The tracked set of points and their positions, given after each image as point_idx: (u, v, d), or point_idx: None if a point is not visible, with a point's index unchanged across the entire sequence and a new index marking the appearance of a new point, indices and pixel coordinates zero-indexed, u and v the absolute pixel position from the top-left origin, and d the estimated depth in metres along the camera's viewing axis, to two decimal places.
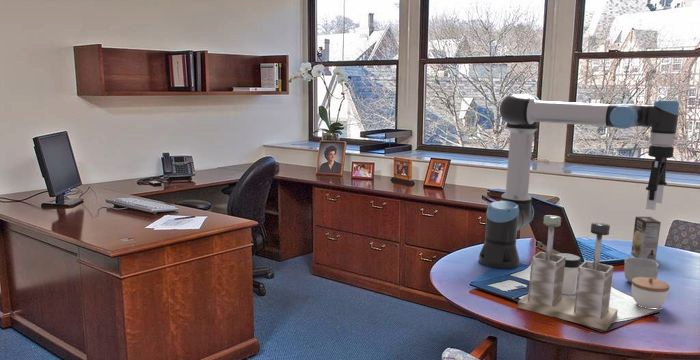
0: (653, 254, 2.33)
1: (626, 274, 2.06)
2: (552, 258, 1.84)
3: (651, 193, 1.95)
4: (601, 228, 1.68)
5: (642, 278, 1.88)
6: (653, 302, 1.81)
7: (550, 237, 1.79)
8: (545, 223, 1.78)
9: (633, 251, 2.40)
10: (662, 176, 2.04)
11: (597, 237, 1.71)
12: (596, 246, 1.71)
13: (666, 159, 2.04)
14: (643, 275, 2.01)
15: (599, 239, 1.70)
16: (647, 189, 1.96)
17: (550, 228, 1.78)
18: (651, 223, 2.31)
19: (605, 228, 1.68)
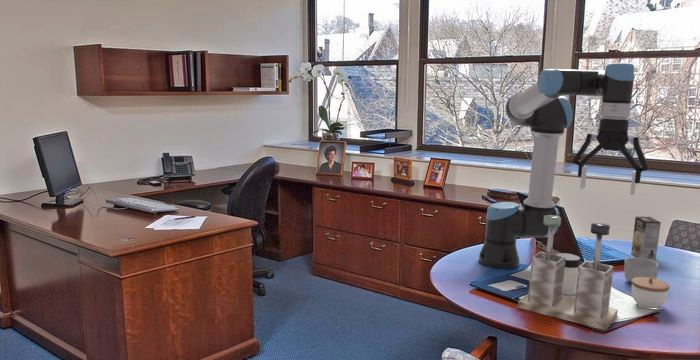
0: (653, 254, 2.33)
1: (626, 274, 2.06)
2: (552, 258, 1.84)
3: None
4: (601, 228, 1.68)
5: (642, 278, 1.88)
6: (653, 302, 1.81)
7: (550, 237, 1.79)
8: (545, 223, 1.78)
9: (633, 251, 2.40)
10: None
11: (597, 237, 1.71)
12: (596, 246, 1.71)
13: (634, 138, 1.63)
14: (643, 275, 2.01)
15: (599, 239, 1.70)
16: None
17: (550, 228, 1.78)
18: (651, 223, 2.31)
19: (605, 228, 1.68)
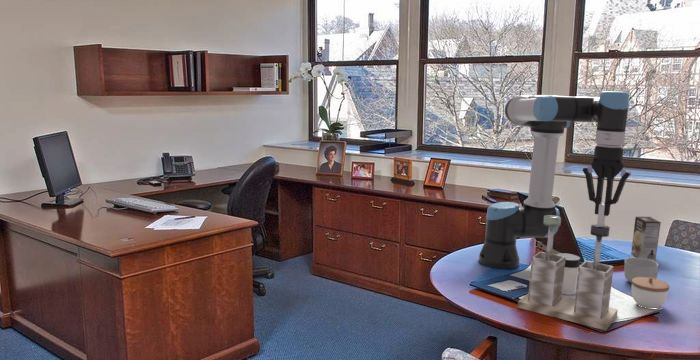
0: (653, 254, 2.33)
1: (626, 274, 2.06)
2: (552, 258, 1.84)
3: None
4: (601, 230, 1.68)
5: (642, 278, 1.88)
6: (653, 302, 1.81)
7: (550, 237, 1.79)
8: (545, 223, 1.78)
9: (633, 251, 2.40)
10: None
11: (597, 239, 1.71)
12: (596, 248, 1.71)
13: (626, 173, 1.63)
14: (643, 275, 2.01)
15: (599, 241, 1.70)
16: None
17: (550, 228, 1.78)
18: (651, 223, 2.31)
19: (605, 230, 1.68)
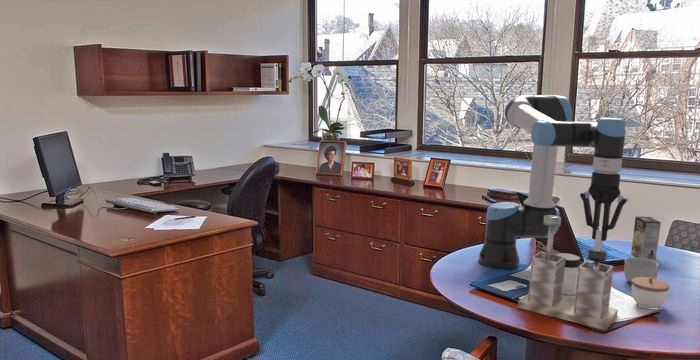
0: (653, 254, 2.33)
1: (626, 274, 2.06)
2: (552, 258, 1.84)
3: None
4: (598, 255, 1.69)
5: (642, 278, 1.88)
6: (653, 302, 1.81)
7: (550, 237, 1.79)
8: (545, 223, 1.78)
9: (633, 251, 2.40)
10: None
11: (594, 263, 1.72)
12: None
13: (623, 200, 1.65)
14: (643, 275, 2.01)
15: (596, 265, 1.72)
16: None
17: (550, 228, 1.78)
18: (651, 223, 2.31)
19: (602, 255, 1.69)
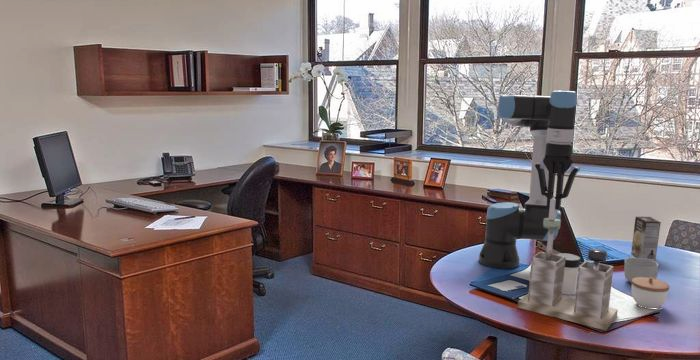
0: (653, 254, 2.33)
1: (626, 274, 2.06)
2: (552, 258, 1.84)
3: None
4: (598, 255, 1.69)
5: (642, 278, 1.88)
6: (653, 302, 1.81)
7: (550, 240, 1.79)
8: (545, 226, 1.78)
9: (633, 251, 2.40)
10: None
11: (594, 263, 1.72)
12: None
13: (574, 169, 1.71)
14: (643, 275, 2.01)
15: (596, 265, 1.72)
16: None
17: (550, 231, 1.79)
18: (651, 223, 2.31)
19: (602, 255, 1.69)
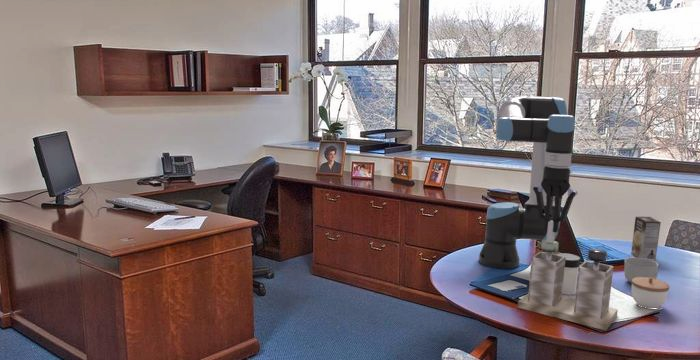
0: (653, 254, 2.33)
1: (626, 274, 2.06)
2: (552, 258, 1.84)
3: None
4: (598, 255, 1.69)
5: (642, 278, 1.88)
6: (653, 302, 1.81)
7: None
8: (543, 248, 1.79)
9: (633, 251, 2.40)
10: None
11: (594, 263, 1.72)
12: None
13: (572, 193, 1.73)
14: (643, 275, 2.01)
15: (596, 265, 1.72)
16: None
17: (548, 253, 1.80)
18: (651, 223, 2.31)
19: (602, 255, 1.69)
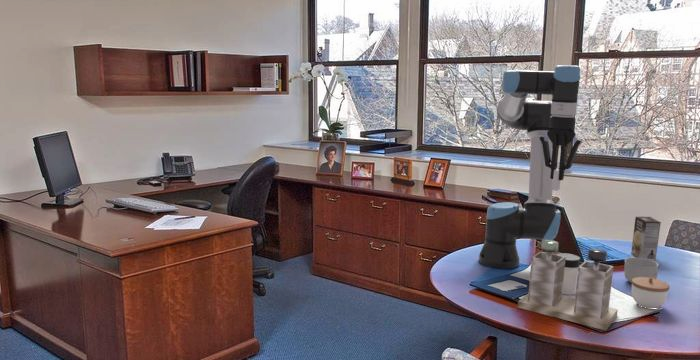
0: (653, 254, 2.33)
1: (626, 274, 2.06)
2: (552, 258, 1.84)
3: None
4: (598, 255, 1.69)
5: (642, 278, 1.88)
6: (653, 302, 1.81)
7: None
8: (543, 248, 1.79)
9: (633, 251, 2.40)
10: None
11: (594, 263, 1.72)
12: None
13: (577, 141, 1.78)
14: (643, 275, 2.01)
15: (596, 265, 1.72)
16: None
17: (548, 253, 1.80)
18: (651, 223, 2.31)
19: (602, 255, 1.69)
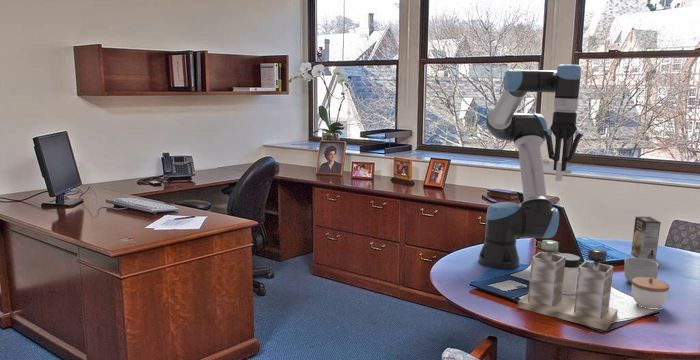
0: (653, 254, 2.33)
1: (626, 274, 2.06)
2: (552, 258, 1.84)
3: None
4: (598, 255, 1.69)
5: (642, 278, 1.88)
6: (653, 302, 1.81)
7: None
8: (543, 248, 1.79)
9: (633, 251, 2.40)
10: None
11: (594, 263, 1.72)
12: None
13: (579, 134, 1.93)
14: (643, 275, 2.01)
15: (596, 265, 1.72)
16: None
17: (548, 253, 1.80)
18: (651, 223, 2.31)
19: (602, 255, 1.69)
